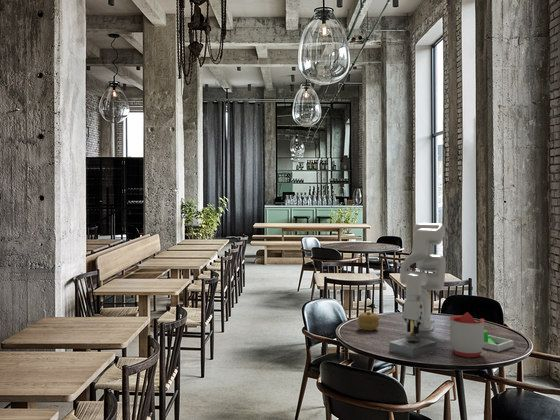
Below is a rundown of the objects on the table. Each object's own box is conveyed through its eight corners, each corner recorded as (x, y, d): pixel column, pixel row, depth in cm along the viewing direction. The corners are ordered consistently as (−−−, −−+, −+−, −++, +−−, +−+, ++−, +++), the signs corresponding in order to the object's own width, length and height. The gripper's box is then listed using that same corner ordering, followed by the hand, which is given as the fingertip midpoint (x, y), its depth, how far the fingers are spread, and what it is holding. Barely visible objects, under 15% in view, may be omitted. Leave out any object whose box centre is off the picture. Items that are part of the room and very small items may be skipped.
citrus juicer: (493, 355, 259) (494, 313, 258) (469, 361, 250) (470, 317, 249) (466, 347, 272) (466, 307, 271) (442, 352, 263) (442, 311, 262)
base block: (412, 344, 276) (412, 335, 276) (436, 351, 265) (436, 341, 265) (389, 351, 265) (389, 341, 265) (412, 358, 254) (412, 348, 254)
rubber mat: (411, 335, 293) (411, 334, 293) (426, 339, 285) (426, 338, 285) (399, 339, 287) (399, 338, 287) (414, 343, 279) (414, 342, 279)
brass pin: (412, 337, 288) (412, 318, 288) (417, 338, 286) (417, 319, 285) (408, 338, 286) (409, 319, 286) (413, 339, 284) (413, 320, 283)
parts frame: (476, 337, 289) (477, 332, 289) (513, 346, 274) (513, 340, 274) (461, 342, 280) (461, 336, 280) (498, 351, 265) (498, 345, 265)
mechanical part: (496, 348, 272) (496, 332, 271) (483, 347, 272) (483, 331, 272) (488, 341, 284) (488, 326, 283) (476, 341, 284) (477, 325, 284)
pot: (376, 327, 312) (376, 309, 311) (381, 332, 300) (381, 314, 300) (356, 327, 311) (356, 309, 311) (359, 332, 300) (359, 314, 299)
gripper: (431, 299, 281) (430, 334, 282) (405, 294, 294) (404, 328, 295) (422, 301, 276) (421, 337, 277) (396, 296, 289) (395, 330, 290)
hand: (412, 332), depth 286 cm, fingers open, 3 cm apart
